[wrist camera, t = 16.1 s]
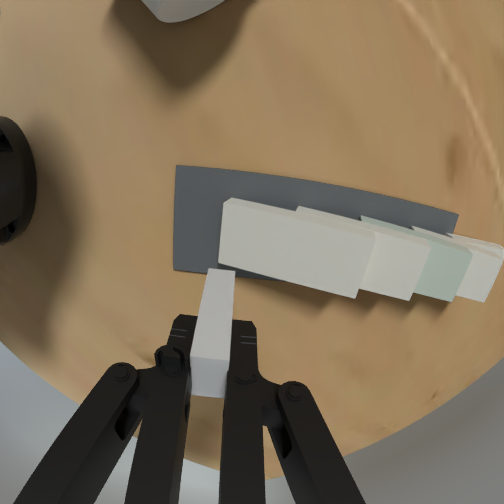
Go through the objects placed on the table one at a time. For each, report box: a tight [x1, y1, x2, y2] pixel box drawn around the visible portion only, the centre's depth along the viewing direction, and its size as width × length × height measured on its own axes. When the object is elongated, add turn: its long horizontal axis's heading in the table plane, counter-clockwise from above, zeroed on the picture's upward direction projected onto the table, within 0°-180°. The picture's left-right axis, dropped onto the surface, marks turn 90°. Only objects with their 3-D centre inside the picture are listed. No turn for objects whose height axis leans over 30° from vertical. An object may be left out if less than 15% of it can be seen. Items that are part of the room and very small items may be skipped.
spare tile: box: [359, 215, 473, 302], centre depth 24 cm, size 2×5×12 cm
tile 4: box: [411, 226, 503, 302], centre depth 24 cm, size 2×5×12 cm
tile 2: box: [296, 206, 431, 301], centre depth 23 cm, size 2×5×12 cm
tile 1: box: [218, 198, 376, 299], centre depth 23 cm, size 2×5×12 cm
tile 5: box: [445, 233, 504, 259], centre depth 26 cm, size 2×5×12 cm
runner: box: [173, 165, 459, 282], centre depth 26 cm, size 29×10×1 cm, turn 83°
